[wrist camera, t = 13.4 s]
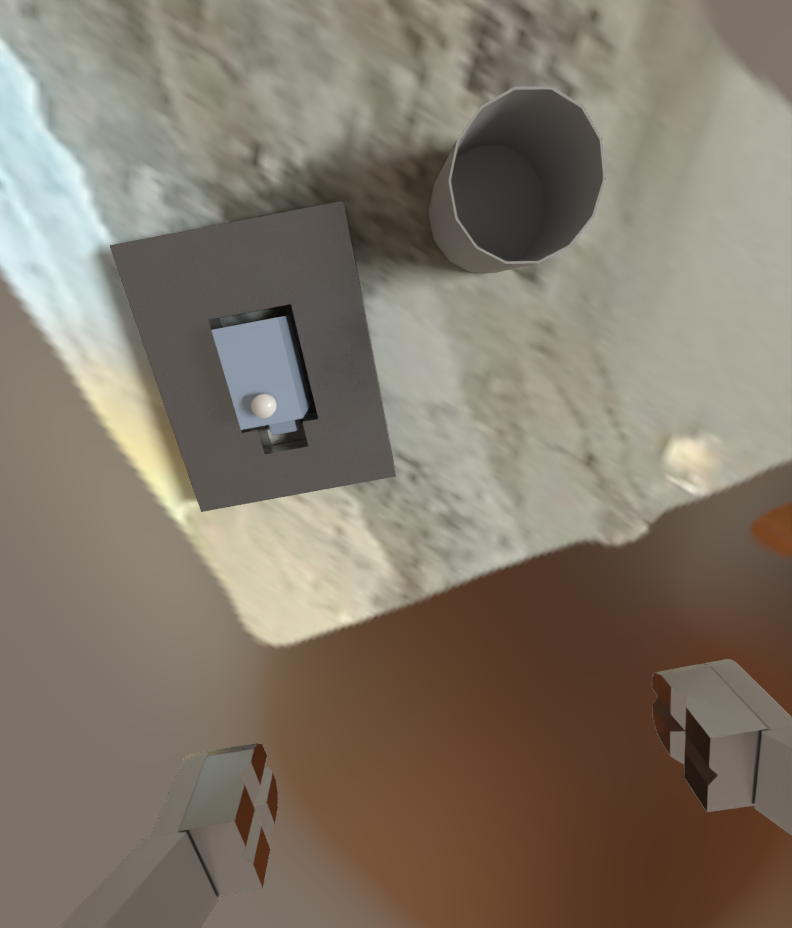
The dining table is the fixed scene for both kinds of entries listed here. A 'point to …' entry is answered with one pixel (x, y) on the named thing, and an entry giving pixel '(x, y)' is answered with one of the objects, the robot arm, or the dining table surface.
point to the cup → (518, 182)
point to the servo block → (264, 374)
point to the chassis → (248, 290)
